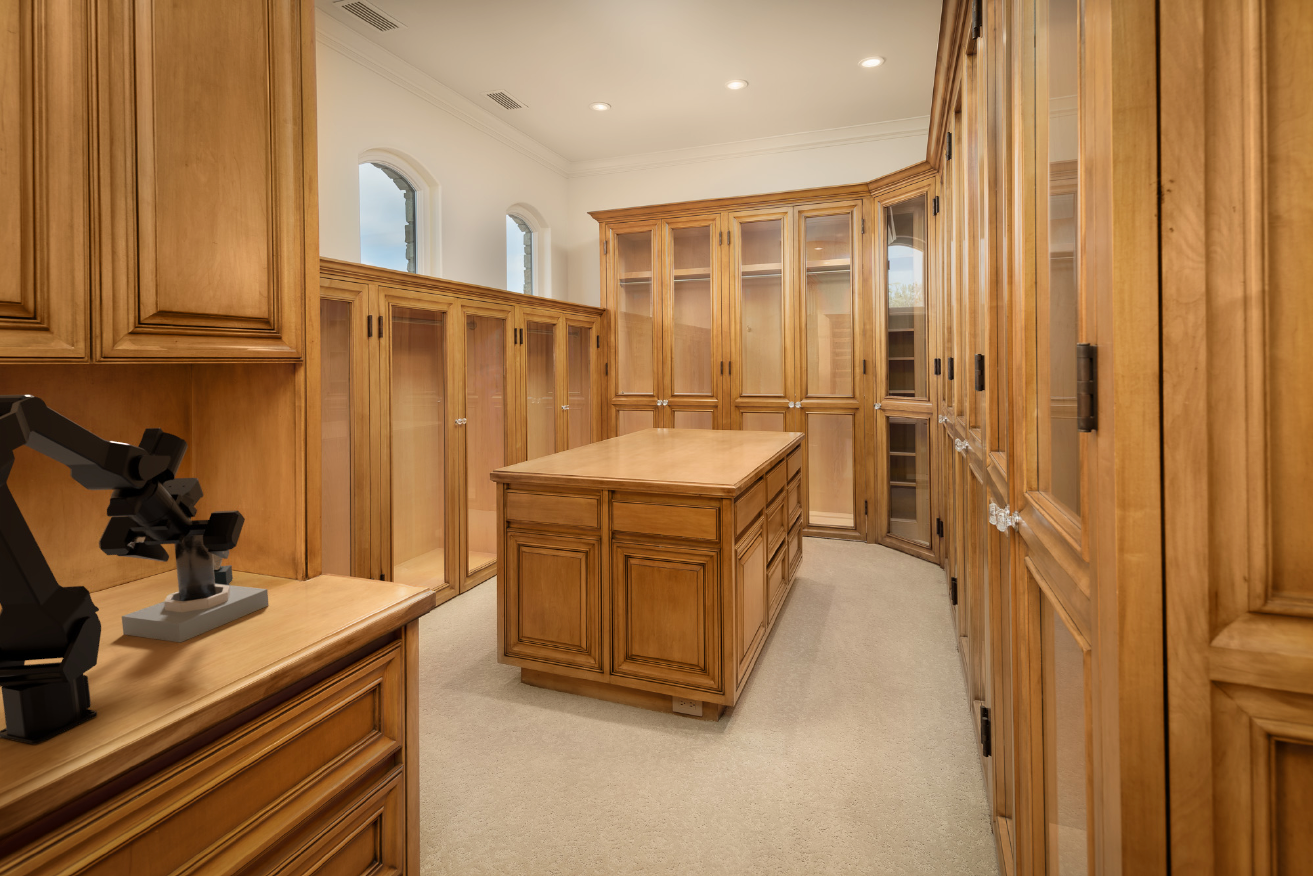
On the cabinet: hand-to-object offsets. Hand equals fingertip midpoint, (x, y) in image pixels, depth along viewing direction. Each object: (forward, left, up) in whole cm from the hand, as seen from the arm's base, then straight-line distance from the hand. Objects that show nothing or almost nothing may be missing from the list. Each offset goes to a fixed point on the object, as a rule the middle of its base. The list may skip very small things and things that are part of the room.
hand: (197, 557), depth 108 cm
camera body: (-1, 0, -10) cm, 10 cm away
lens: (-1, 0, -7) cm, 8 cm away
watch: (+13, +14, -11) cm, 22 cm away
